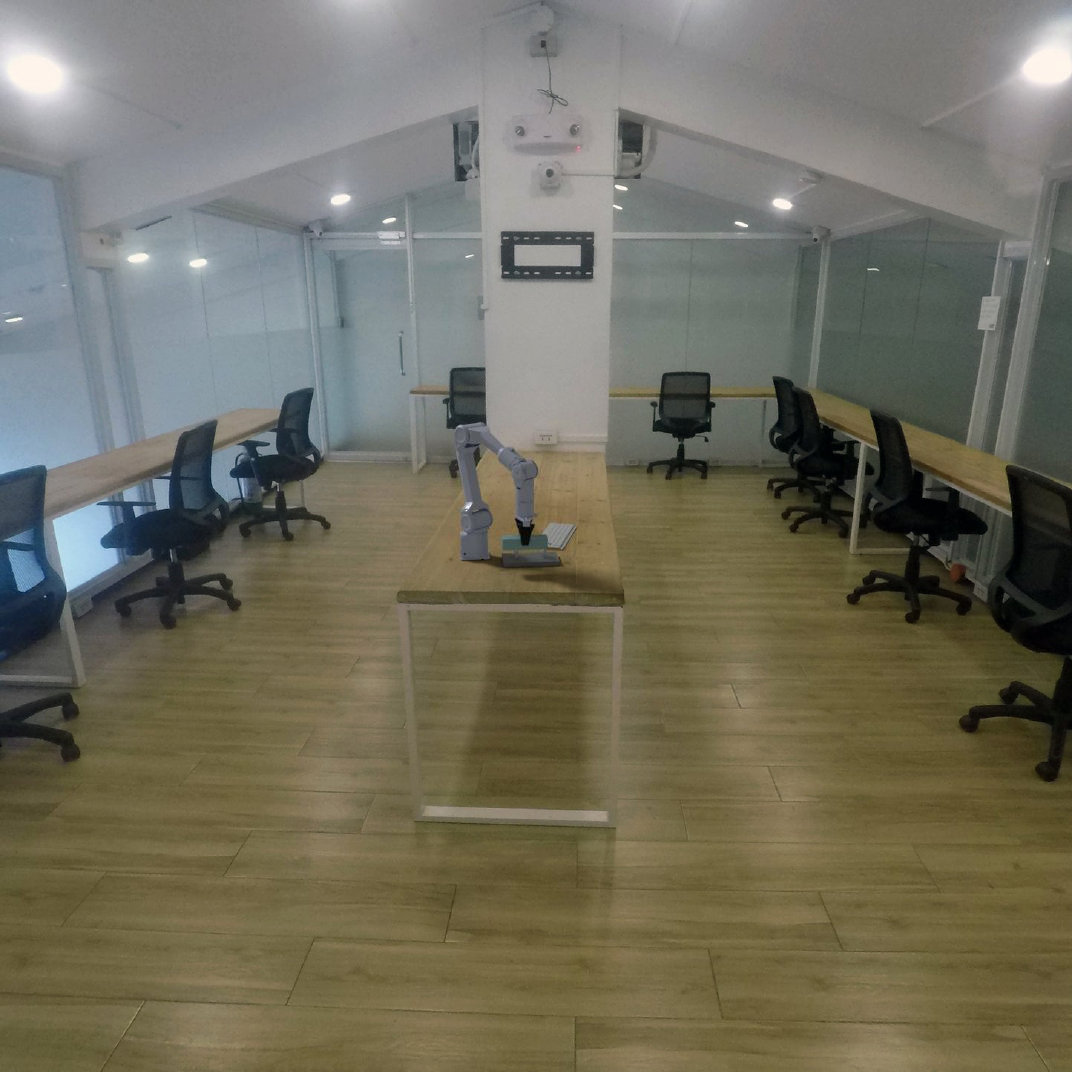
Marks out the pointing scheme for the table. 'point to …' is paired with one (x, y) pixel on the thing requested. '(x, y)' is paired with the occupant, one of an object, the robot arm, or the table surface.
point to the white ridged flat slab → (559, 535)
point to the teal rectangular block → (515, 544)
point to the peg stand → (530, 559)
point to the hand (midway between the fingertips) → (524, 542)
